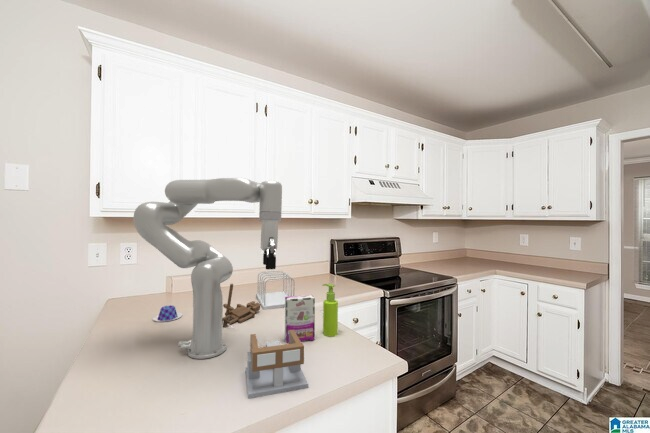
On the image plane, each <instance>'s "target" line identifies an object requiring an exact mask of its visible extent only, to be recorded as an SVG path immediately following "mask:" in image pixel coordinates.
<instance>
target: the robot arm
mask: <svg viewBox="0 0 650 433" xmlns="http://www.w3.org/2000/svg"><path fill="white" fill-rule="evenodd" d="M164 195H165V197H166V198H167V200H169V202H161V201H146V202H143V203H141V204H139V205H138V206H137V207H136V208H135V210H134V211H133V225H134V228H135V230H136V232H137V233H138V234H139V236H141V238H142V239H143V240H144V241H145V242H147V243H148V244H149V245H151V246H153V247H154V248H155V249H156V250H157V251H159V252H160V253H161V254H162V255H163V256H165V257H166V258H167V259H168V260H170V261H171V262H172V263H173V264H174V265H175V266H177V267H178V268H181V269H188V268H189V269H190V268H193V269H192V272H191V273H190V281H191V288H192V301H193V303H192V308H193V311H192V312H193V314H192V315H193V316H192V318H193V319H192V320H193V321H192V337H191V338H189V339H188V340H179V341H178V348H181V350H185V349H187V355H188V357H190V358H191V359H196V360H198V359H199V360H202V359H203V360H204V359H210V358H214V357H217V356H219V355H221V354H223V353H224V352H225V351H226V350H227V343H226V342H225V341H224V340H223V322H222V318H223V308H224V306H223V304H224V303H223V299H224V298H223V292H222V288H221V284H222V283H223V282H227V281H228V280H229V279H230V278H231V276H232V275H233V271H234V268H233V267H234V266H233V264H232V262H231V261H230V260H229V259H228V258H227V257H226V256H225V255H224V254H222V253H221V252H220V251H219V250H217V249H216V248H215V247H213V246H212V245H211V244H209V242H206V241H204V240H188V239H187V238H185V237H184V236H182V235H181V234H180V233H178V231H176V230H174V228H173V229H172V228H171V227H169V226H172V225H175V224H177V223H179V222H181V221H182V220H183V219H184V218H185V217H186V216H187V215H188V214H189V213H190V212H192V210H193V209H194V208H195V207H196V206H197V205H200V204H202V205H203V204H204V205H205V204H209V205H210V204H214V203H215V202H224V201H225V202H227V201H228V202H231V201H233V202H246V203H250V204H251V203H253V204H255V203H259V210H258V211H259V213H258V214H259V218H258V221H259V222H261V227H260V228H261V231H260V233H261V234H260V249H261V250H262V251H263V257H262V263H263V265H265V270H276V268H277V267H276V266H277V257H276V256H277V255H276V251H277V250H278V242H279V241H278V239H279V223H281V222H282V207H283V206H282V205H283V204H282V202H283V200H282V198H283V186H282V183H281V182H279V181H275V180H265V181H261V182H255V181H253V180H251V179H248V178H243V177H221V178H220V177H219V178H218V177H217V178H211V179H175V180H171V181H170V182H168V183H167V184H166V186H165V188H164Z"/></svg>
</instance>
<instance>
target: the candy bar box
mask: <svg viewBox="0 0 650 433" xmlns="http://www.w3.org/2000/svg"><path fill="white" fill-rule="evenodd" d="M289 296H290V297H285V307H284V340H285V343H286V344H289V330H294V331H295V333H296V334H297V336H298V338H299V340H300V341H301V342H308V341H309V342H311V341H315V338H316V337H315V335H316V334H315V332H316V331H315V330H316V327H315V326H316V325H315V322H316V320H315V310H316V308H315V302H316V301H315V300H316V299H315V296H313V295H312V294H309V295H307V294H306V295H294V296H293V295H292V296H291V295H289Z"/></svg>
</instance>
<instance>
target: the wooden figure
mask: <svg viewBox="0 0 650 433" xmlns="http://www.w3.org/2000/svg"><path fill="white" fill-rule="evenodd" d="M233 290H234V283H230V284H229V290H228V297H227V303H223V308H224V309H226V311H225V313H224V317H223V316H222V328H228V327H231V328H232V329H235V327H234V326H232V324H234V323H235V322H237V324H242V323H243V322H245V321H247V320H248V319H250V318H252V319H255V314H256V313H257V312H259V311H260V309H261V305H260V303H259V302H256V301H255V300H253V301H250V302H248V303H246V306H245V305H243V304H240V303H237V304H236V307H233V306H231V303H232V296H233ZM229 319H231V320H229Z"/></svg>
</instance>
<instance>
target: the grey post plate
mask: <svg viewBox="0 0 650 433" xmlns="http://www.w3.org/2000/svg"><path fill="white" fill-rule="evenodd" d="M278 345H281V344H280V341H279V340H272V341H265V347H270V346H278ZM301 366H302V364H301V365H294V366H288V367H282V368H275V369H269V370H262V371H256V372H252V360H251V353H250V351H248V352H247V366H246V367H245V380H246V379H247V380H246V389H248V390H247V398H248V399H251V398H250V397H254V398H259V397H263V395H264V396H268V395H269V394H270V395H275V394H279V393H285V392H291V391H297V390H302V389H307V388H309V382H308V380H307V378H306V377H305V374H304V372H303V370H302V367H301ZM258 396H259V397H258Z"/></svg>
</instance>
